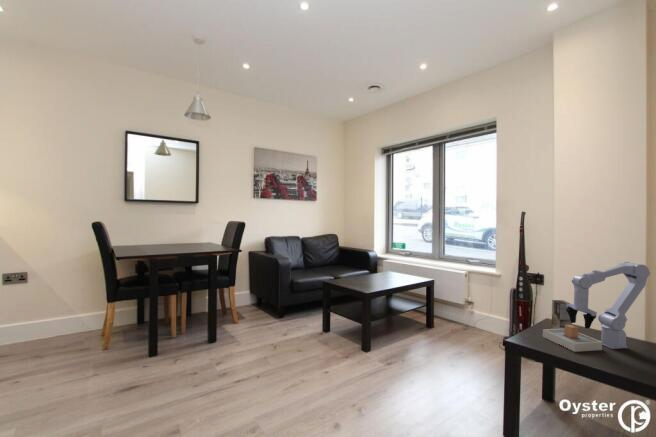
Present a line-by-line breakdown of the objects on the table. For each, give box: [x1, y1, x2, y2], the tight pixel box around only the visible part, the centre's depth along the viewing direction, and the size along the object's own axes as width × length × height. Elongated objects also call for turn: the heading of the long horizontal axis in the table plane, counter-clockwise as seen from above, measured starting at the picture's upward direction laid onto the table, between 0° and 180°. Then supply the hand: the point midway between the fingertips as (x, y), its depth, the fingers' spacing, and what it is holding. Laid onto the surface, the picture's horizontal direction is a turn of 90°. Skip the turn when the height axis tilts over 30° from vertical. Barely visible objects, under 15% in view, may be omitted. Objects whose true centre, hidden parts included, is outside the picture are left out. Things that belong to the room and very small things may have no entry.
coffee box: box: [551, 299, 573, 329], centre depth 178 cm, size 9×6×16 cm
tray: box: [542, 328, 603, 353], centre depth 160 cm, size 16×18×4 cm
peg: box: [564, 324, 579, 339], centre depth 160 cm, size 4×4×8 cm
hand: (580, 325), depth 159 cm, fingers open, 7 cm apart
